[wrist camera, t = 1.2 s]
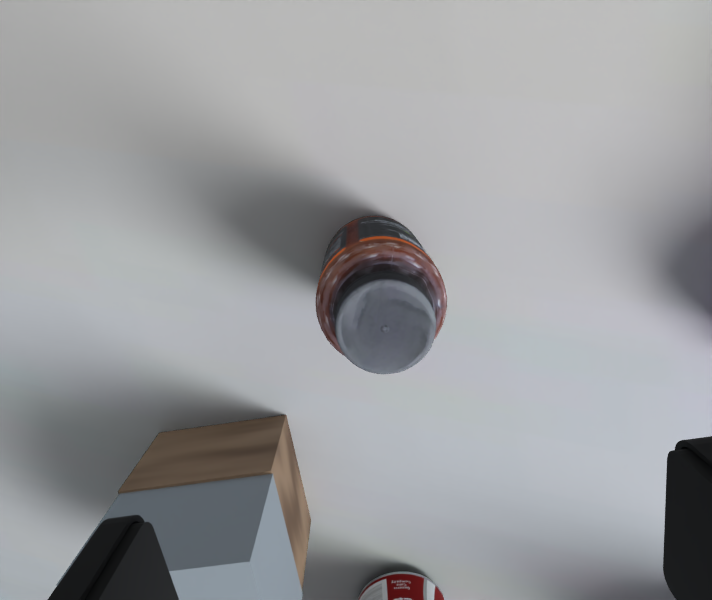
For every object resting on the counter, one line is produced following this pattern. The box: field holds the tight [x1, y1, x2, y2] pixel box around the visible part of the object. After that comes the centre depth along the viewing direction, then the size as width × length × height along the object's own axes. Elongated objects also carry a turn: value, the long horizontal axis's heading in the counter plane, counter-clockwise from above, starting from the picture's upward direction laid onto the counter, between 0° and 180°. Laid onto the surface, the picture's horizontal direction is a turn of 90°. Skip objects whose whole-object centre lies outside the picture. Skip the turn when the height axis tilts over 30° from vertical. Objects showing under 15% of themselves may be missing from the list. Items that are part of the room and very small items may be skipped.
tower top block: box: [57, 474, 303, 600], centre depth 25 cm, size 9×9×6 cm
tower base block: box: [118, 415, 311, 589], centre depth 31 cm, size 9×9×6 cm
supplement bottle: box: [316, 216, 447, 374], centre depth 24 cm, size 6×6×11 cm
